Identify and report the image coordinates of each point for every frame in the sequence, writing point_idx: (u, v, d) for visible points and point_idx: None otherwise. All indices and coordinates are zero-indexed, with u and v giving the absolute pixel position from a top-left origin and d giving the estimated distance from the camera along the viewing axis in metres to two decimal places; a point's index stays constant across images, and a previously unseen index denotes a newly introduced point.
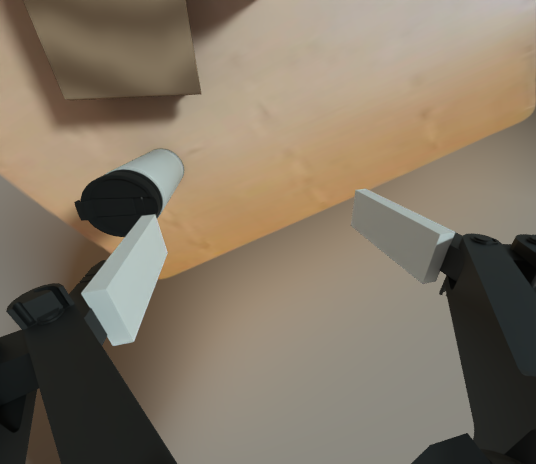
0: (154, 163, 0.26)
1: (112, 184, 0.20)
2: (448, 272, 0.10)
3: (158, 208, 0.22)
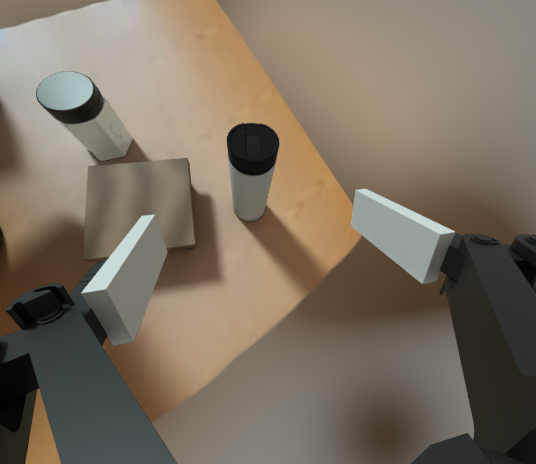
0: None
1: (234, 143, 0.26)
2: (448, 272, 0.10)
3: None
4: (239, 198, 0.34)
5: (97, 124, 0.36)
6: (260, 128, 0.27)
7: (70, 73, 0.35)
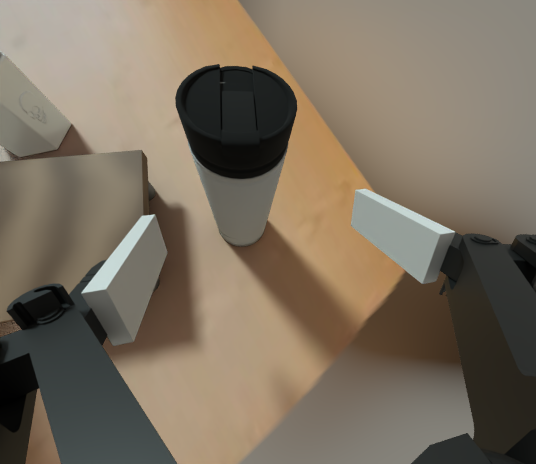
0: None
1: (194, 106, 0.11)
2: (448, 272, 0.10)
3: None
4: (221, 217, 0.20)
5: None
6: (255, 76, 0.12)
7: None
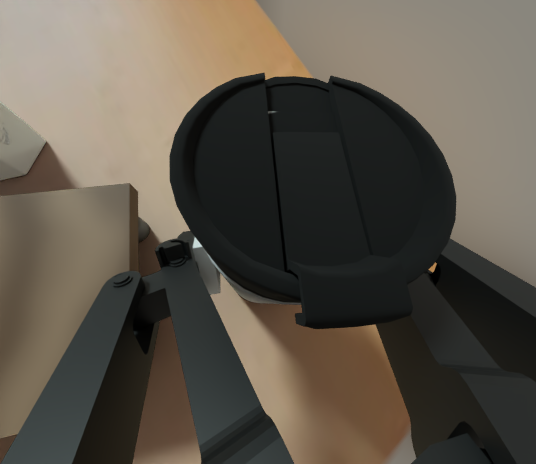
0: None
1: (215, 175, 0.05)
2: None
3: None
4: (240, 294, 0.13)
5: None
6: (338, 98, 0.06)
7: None
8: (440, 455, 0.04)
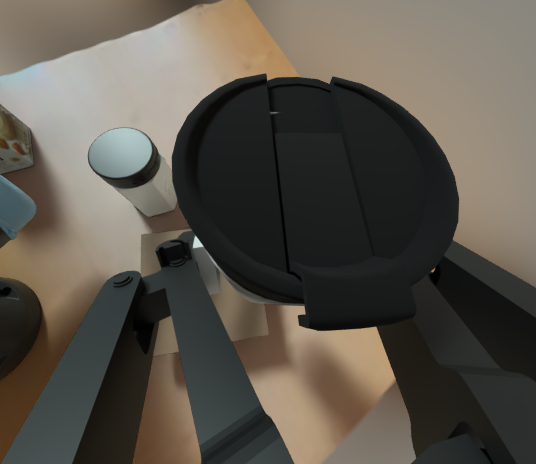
0: None
1: (217, 176, 0.05)
2: None
3: None
4: (241, 295, 0.13)
5: (153, 186, 0.31)
6: (340, 98, 0.06)
7: (125, 130, 0.30)
8: (440, 455, 0.04)
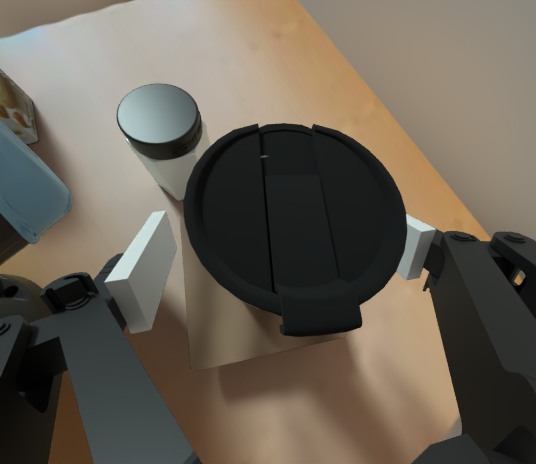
0: None
1: (218, 214, 0.06)
2: (430, 269, 0.10)
3: None
4: None
5: (194, 158, 0.25)
6: (319, 144, 0.07)
7: (161, 86, 0.24)
8: (440, 455, 0.04)
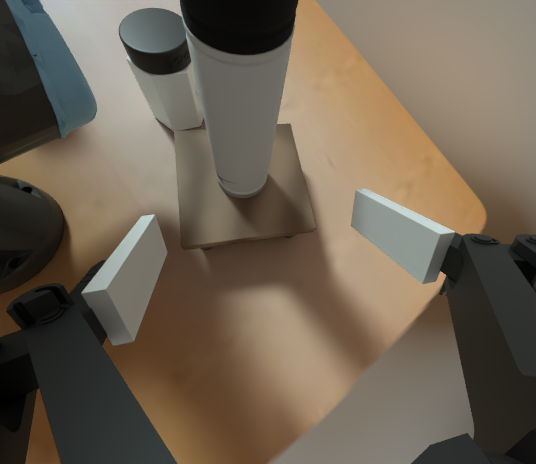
0: None
1: None
2: (448, 272, 0.10)
3: None
4: (219, 144, 0.18)
5: (186, 78, 0.29)
6: None
7: (157, 10, 0.27)
8: (440, 455, 0.04)
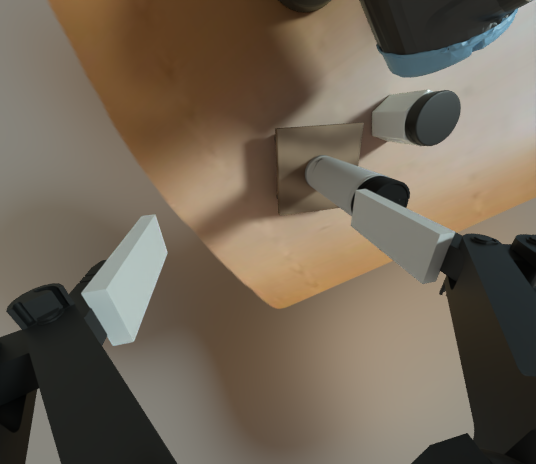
0: None
1: (389, 188, 0.24)
2: (448, 272, 0.10)
3: None
4: (331, 171, 0.33)
5: (400, 137, 0.39)
6: None
7: (455, 121, 0.36)
8: (440, 455, 0.04)
